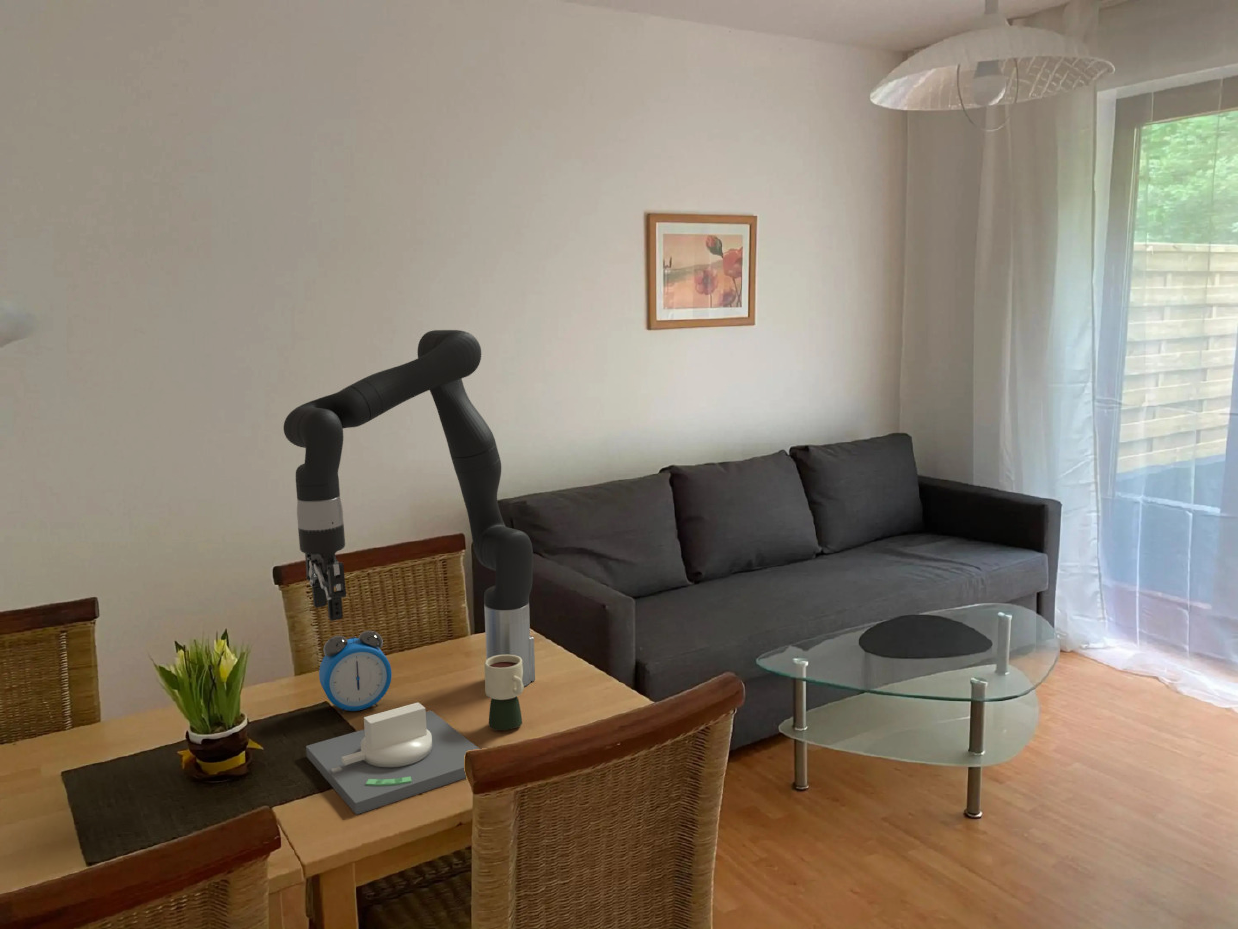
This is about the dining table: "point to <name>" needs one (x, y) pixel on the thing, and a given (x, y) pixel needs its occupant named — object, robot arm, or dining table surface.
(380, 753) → the dial
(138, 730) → the dining table surface
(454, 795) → the dining table surface
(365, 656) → the alarm clock
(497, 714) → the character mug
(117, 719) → the dining table surface
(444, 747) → the dial board
